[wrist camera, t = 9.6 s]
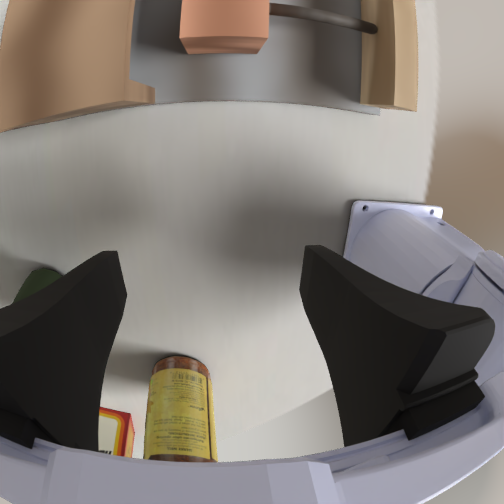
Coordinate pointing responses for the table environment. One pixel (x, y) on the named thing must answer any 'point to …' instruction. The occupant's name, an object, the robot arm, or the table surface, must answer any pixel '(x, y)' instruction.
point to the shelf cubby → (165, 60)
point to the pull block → (371, 24)
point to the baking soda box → (115, 433)
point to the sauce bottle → (180, 413)
